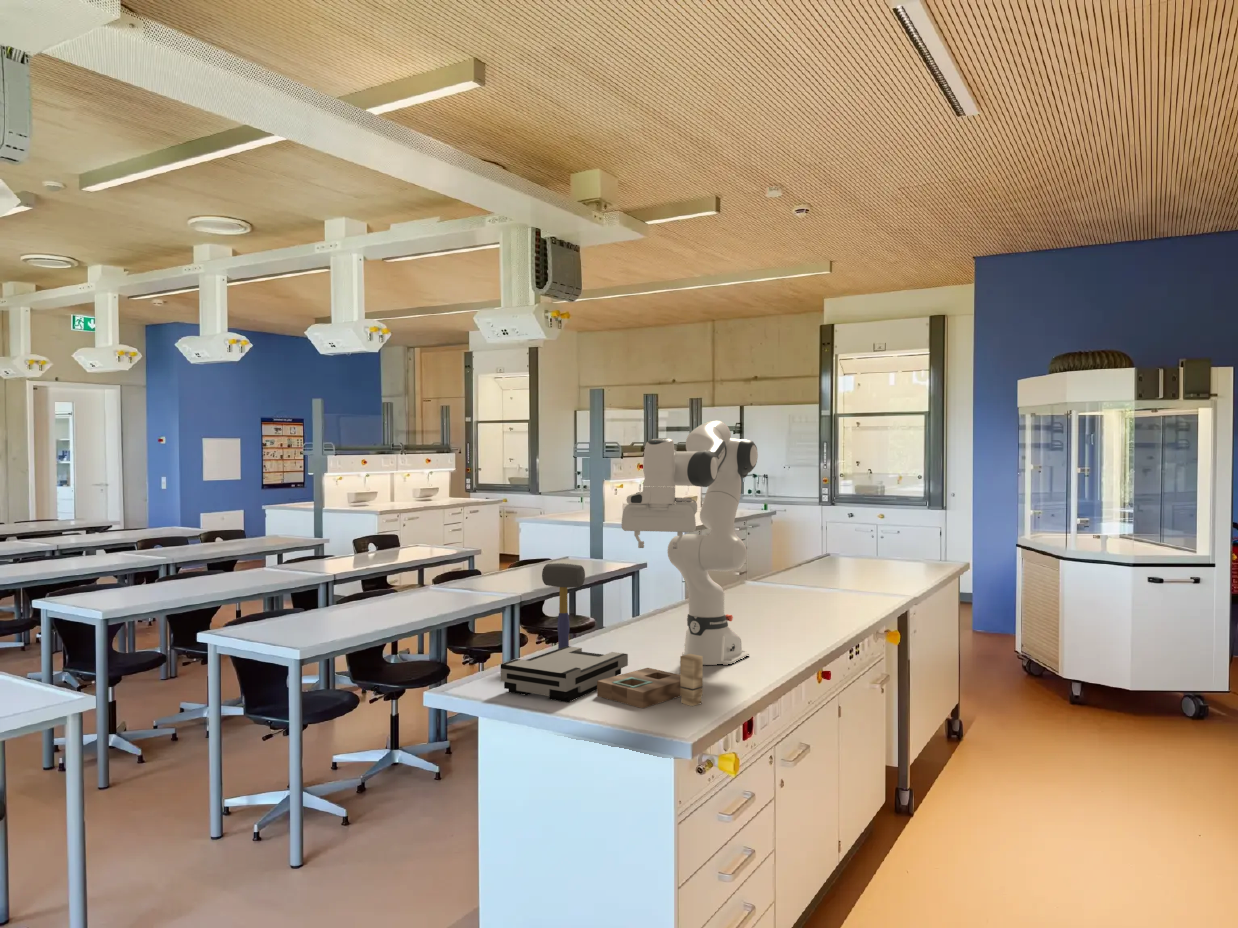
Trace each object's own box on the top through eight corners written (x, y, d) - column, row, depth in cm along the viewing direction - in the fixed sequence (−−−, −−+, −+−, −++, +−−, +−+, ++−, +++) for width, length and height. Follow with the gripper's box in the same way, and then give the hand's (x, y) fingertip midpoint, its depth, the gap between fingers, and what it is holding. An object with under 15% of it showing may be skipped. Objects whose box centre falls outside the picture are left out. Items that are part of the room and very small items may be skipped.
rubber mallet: (540, 660, 259) (540, 563, 259) (551, 655, 266) (551, 561, 266) (576, 663, 254) (576, 565, 254) (586, 658, 261) (586, 562, 261)
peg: (690, 699, 215) (690, 653, 215) (702, 703, 212) (702, 656, 212) (680, 703, 212) (680, 656, 212) (692, 706, 209) (692, 658, 209)
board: (647, 681, 233) (647, 666, 233) (692, 692, 222) (692, 676, 222) (597, 696, 219) (597, 680, 219) (642, 708, 208) (642, 691, 208)
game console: (627, 678, 238) (627, 649, 239) (566, 706, 211) (566, 673, 211) (567, 669, 249) (567, 641, 249) (500, 694, 221) (500, 663, 221)
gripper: (697, 497, 229) (697, 548, 229) (623, 496, 231) (622, 546, 231) (697, 498, 223) (696, 550, 222) (621, 497, 225) (620, 548, 225)
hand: (658, 548), depth 227 cm, fingers open, 8 cm apart
